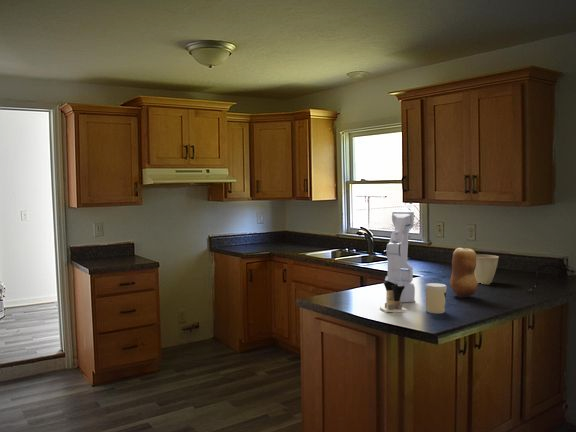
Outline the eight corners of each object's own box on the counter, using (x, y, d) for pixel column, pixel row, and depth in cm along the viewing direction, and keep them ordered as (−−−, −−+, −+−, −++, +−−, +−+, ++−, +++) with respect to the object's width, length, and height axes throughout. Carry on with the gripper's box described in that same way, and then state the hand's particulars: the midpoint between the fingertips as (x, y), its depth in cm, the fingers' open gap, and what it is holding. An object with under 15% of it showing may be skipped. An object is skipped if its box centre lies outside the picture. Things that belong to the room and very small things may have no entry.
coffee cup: (449, 313, 232) (450, 286, 231) (428, 314, 231) (429, 286, 230) (441, 308, 241) (442, 282, 240) (421, 309, 240) (422, 283, 240)
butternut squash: (482, 299, 260) (483, 249, 259) (456, 300, 258) (457, 250, 257) (468, 294, 274) (469, 246, 273) (443, 294, 272) (445, 246, 271)
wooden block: (398, 307, 239) (399, 290, 238) (400, 308, 237) (400, 290, 236) (386, 308, 237) (386, 290, 237) (388, 309, 236) (388, 291, 235)
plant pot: (501, 286, 297) (501, 258, 296) (473, 285, 299) (474, 257, 298) (494, 281, 312) (494, 254, 311) (468, 280, 314) (468, 254, 313)
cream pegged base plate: (400, 308, 242) (400, 301, 241) (406, 311, 235) (407, 305, 235) (379, 309, 240) (380, 302, 239) (385, 312, 233) (386, 306, 233)
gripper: (379, 267, 242) (379, 296, 243) (392, 272, 228) (391, 303, 229) (393, 266, 244) (393, 295, 245) (407, 271, 230) (406, 302, 230)
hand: (393, 299), depth 237 cm, fingers open, 7 cm apart
